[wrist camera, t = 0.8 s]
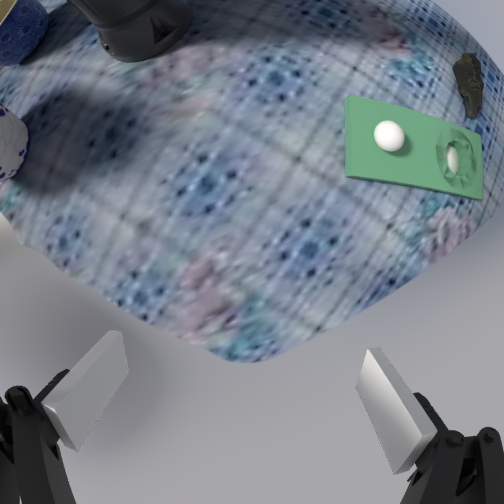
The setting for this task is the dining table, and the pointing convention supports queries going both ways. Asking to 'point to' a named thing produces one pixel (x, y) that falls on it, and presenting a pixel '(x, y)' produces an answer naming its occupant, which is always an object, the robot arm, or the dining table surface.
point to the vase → (12, 143)
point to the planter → (20, 29)
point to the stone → (469, 82)
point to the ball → (389, 136)
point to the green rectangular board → (412, 150)
